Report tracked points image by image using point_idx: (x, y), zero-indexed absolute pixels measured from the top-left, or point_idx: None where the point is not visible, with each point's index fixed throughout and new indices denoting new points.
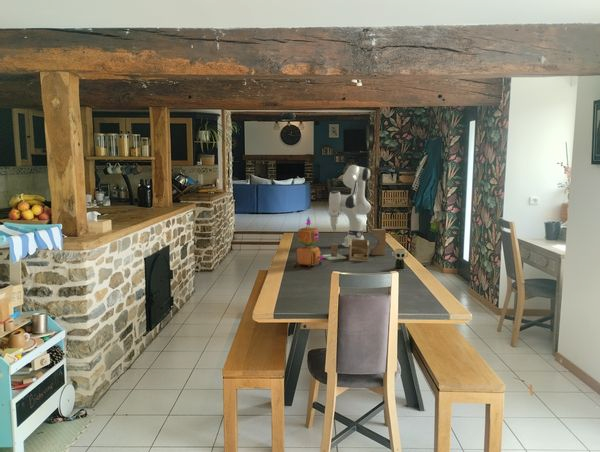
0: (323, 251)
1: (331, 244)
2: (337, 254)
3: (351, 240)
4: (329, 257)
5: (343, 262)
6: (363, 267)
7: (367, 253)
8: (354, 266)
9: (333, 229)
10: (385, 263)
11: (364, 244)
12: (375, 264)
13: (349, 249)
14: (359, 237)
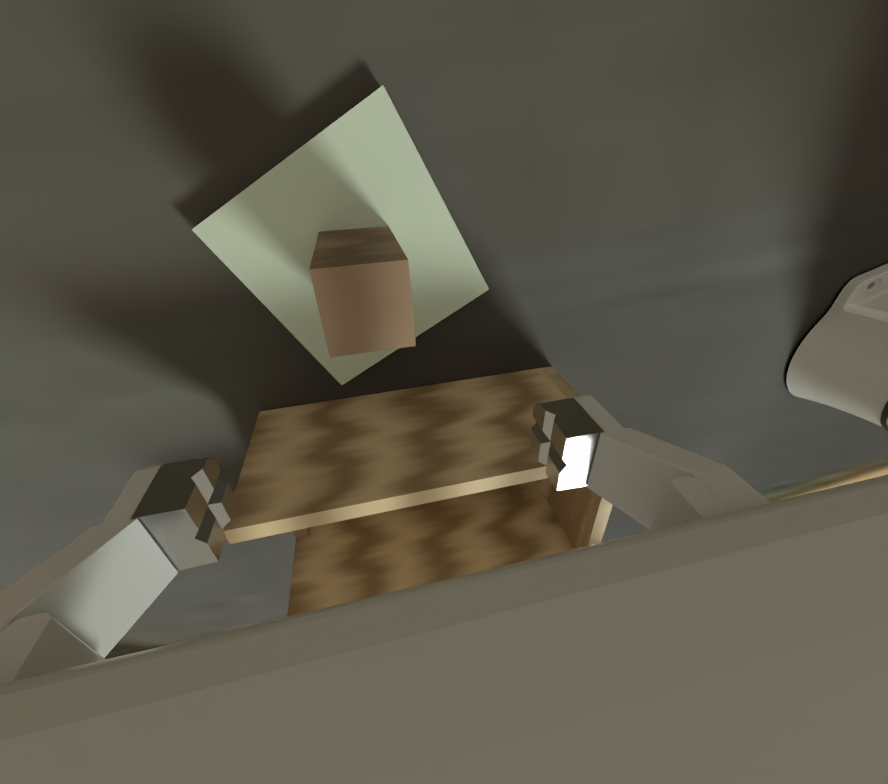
0: (709, 63)
1: (342, 268)
2: (458, 282)
3: (541, 478)
4: (250, 221)
5: (149, 388)
6: (43, 547)
7: (293, 567)
8: (27, 495)
9: (120, 539)
10: (280, 594)
11: (565, 514)
12: (215, 570)
13: (238, 489)
14: (880, 418)
